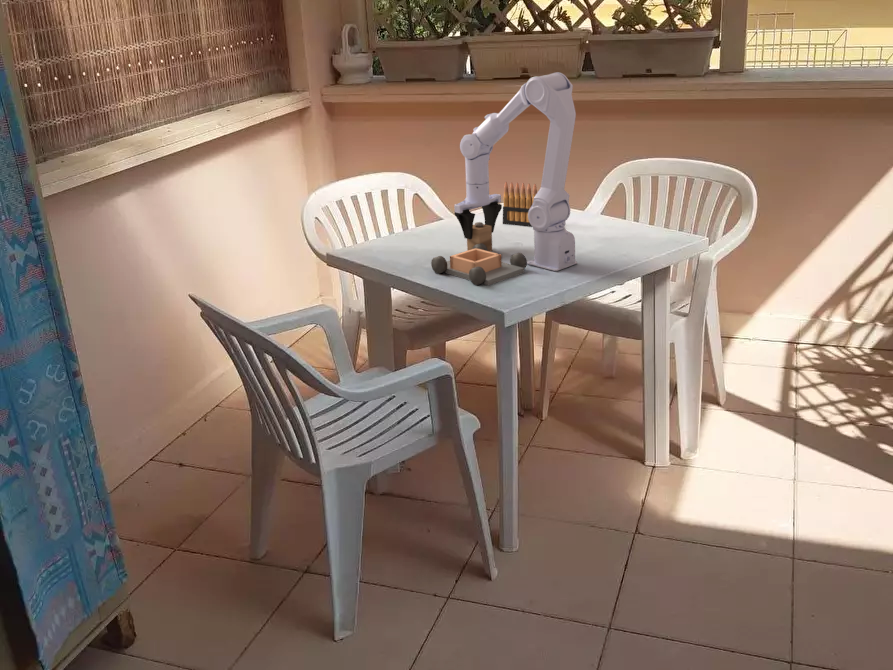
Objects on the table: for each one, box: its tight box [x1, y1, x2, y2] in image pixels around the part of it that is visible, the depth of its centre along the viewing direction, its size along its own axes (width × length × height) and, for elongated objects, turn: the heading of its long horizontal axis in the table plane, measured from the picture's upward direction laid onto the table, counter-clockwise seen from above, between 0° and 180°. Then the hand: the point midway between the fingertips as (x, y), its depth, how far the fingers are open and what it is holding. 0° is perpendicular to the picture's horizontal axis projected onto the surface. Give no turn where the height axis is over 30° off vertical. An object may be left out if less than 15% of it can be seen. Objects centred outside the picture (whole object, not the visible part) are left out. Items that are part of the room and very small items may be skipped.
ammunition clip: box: [502, 181, 538, 228], centre depth 245 cm, size 11×2×12 cm, turn 60°
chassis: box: [430, 243, 528, 286], centre depth 209 cm, size 18×15×4 cm
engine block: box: [466, 221, 493, 252], centre depth 224 cm, size 4×4×7 cm
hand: (479, 235), depth 224 cm, fingers open, 7 cm apart
